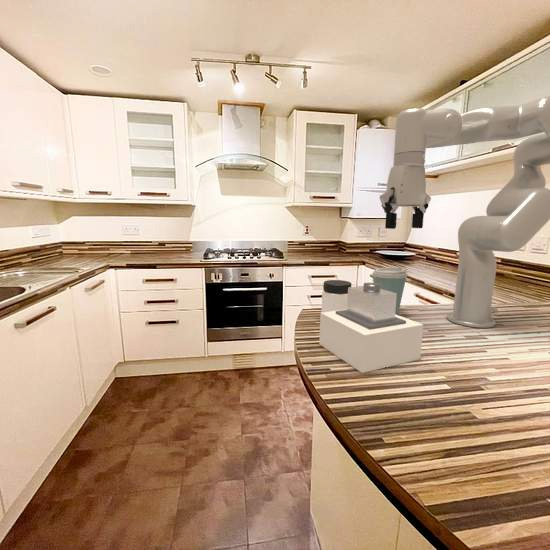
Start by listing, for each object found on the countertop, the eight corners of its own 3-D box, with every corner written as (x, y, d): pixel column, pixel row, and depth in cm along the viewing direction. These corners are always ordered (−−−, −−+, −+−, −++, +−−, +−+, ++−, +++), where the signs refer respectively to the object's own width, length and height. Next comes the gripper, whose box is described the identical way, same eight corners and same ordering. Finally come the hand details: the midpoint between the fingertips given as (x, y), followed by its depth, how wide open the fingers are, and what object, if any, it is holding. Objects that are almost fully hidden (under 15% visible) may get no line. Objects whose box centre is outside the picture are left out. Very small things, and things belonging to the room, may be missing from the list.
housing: (366, 309, 76) (368, 279, 75) (394, 319, 68) (397, 287, 67) (346, 312, 74) (348, 281, 73) (373, 323, 66) (375, 289, 65)
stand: (370, 334, 83) (372, 303, 82) (420, 359, 69) (423, 321, 67) (319, 344, 77) (320, 310, 75) (362, 373, 62) (364, 332, 61)
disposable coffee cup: (382, 320, 96) (385, 271, 93) (363, 310, 106) (366, 266, 103) (411, 317, 98) (415, 270, 96) (390, 308, 109) (393, 265, 106)
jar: (326, 315, 100) (327, 278, 98) (352, 319, 96) (354, 281, 94) (318, 323, 92) (319, 283, 89) (346, 327, 88) (348, 286, 86)
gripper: (420, 166, 88) (415, 227, 91) (372, 162, 81) (369, 228, 84) (444, 162, 81) (438, 228, 84) (394, 156, 74) (390, 229, 77)
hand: (404, 228), depth 84 cm, fingers open, 9 cm apart
